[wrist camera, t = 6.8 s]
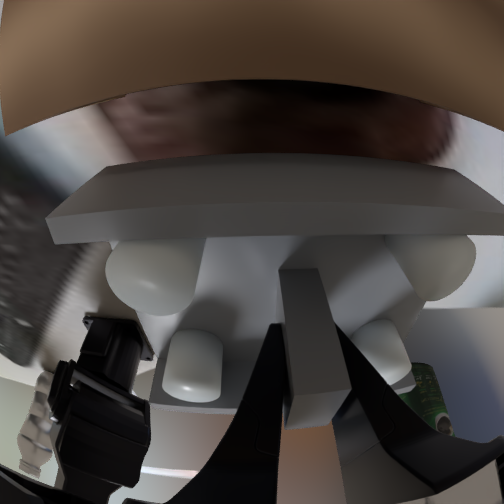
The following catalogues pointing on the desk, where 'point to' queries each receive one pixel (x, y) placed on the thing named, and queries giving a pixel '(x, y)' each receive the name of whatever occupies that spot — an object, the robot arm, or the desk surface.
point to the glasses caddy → (278, 265)
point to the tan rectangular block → (249, 50)
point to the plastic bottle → (37, 429)
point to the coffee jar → (428, 399)
